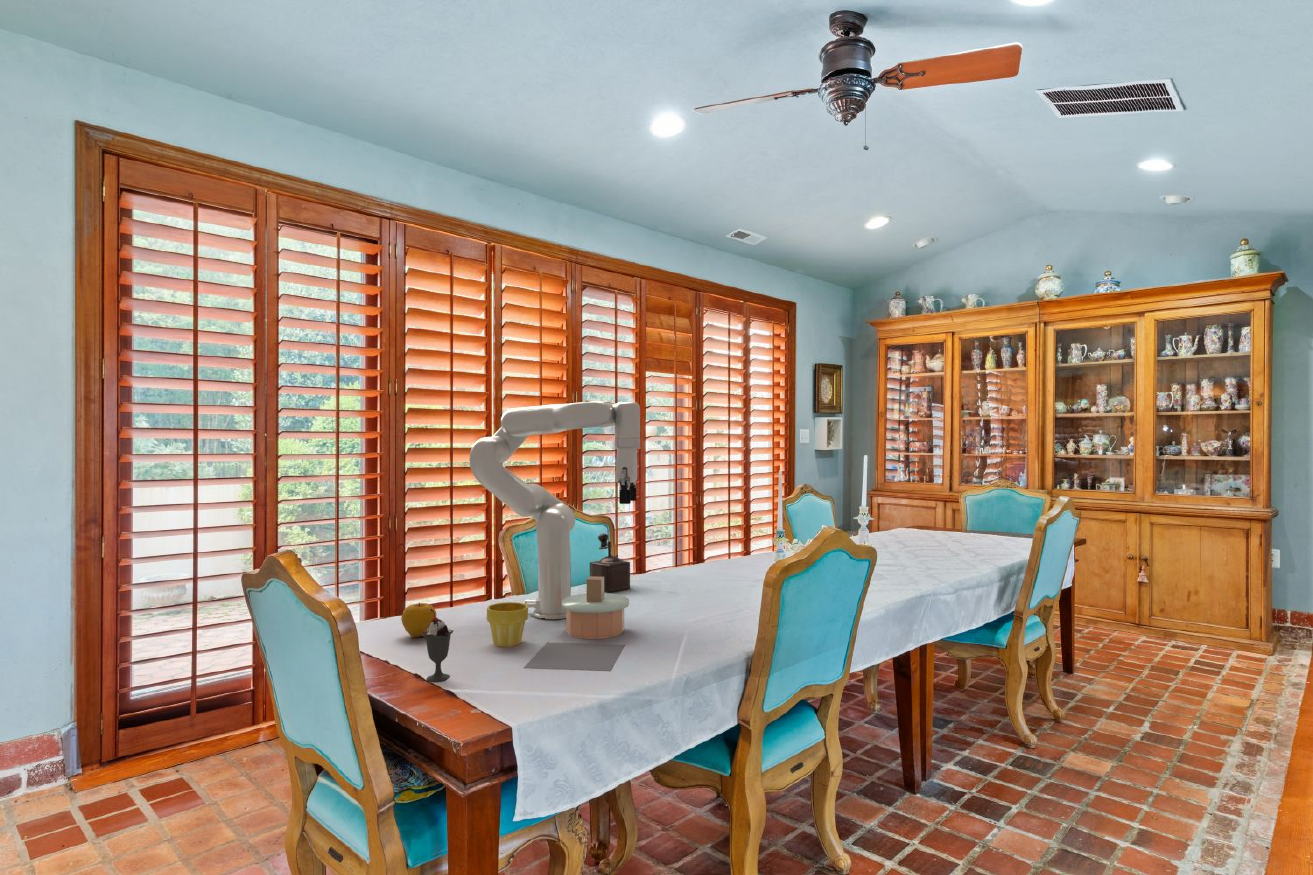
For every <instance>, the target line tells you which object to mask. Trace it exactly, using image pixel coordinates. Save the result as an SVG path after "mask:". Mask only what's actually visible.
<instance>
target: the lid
mask: <svg viewBox="0 0 1313 875" xmlns="http://www.w3.org/2000/svg"><path fill="white" fill-rule="evenodd" d="M585 581H586V593H580V594H575V595H571V596H569V597H566V598H564V599H563V600H562V608H564V609H565V610H568V611H572V612H579V613H605V612H613V611H618V610H622V609H624V610H625V609H626V608H628V607H629V606H630V598H629V597H627V596H625V595H622V594H617V593H612V592H611V593H606V592H604V577H593V576H590V575H589V576H588V578H586V580H585Z"/></svg>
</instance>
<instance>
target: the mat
mask: <svg viewBox="0 0 1313 875" xmlns="http://www.w3.org/2000/svg"><path fill="white" fill-rule="evenodd" d="M625 646H626V645H625V644H616V643H615V644H614V643H584V642H583V643H582V642H579V643H578V642H550V641H547V642H546V643H544V645H543V646H542V647H541V648H540V649H539V650H538V651H537V653H536V654H535V655H534V656H533V657H532V658H530V660H529V661H528V662H527V663H526V665H524V666H523V669H537V670H538V669H540V670H541V669H542V670H561V671H563V670H565V671H566V670H567V671H568V670H569V671H592V672H593V671H594V672H595V671H598V672H612V669H613V668H614V666H615V664H616V663H617V661H618V659H619V657H620V655H621V653H622V651H623V650H624V648H625Z"/></svg>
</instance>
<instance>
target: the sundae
mask: <svg viewBox="0 0 1313 875" xmlns="http://www.w3.org/2000/svg"><path fill="white" fill-rule="evenodd" d="M430 610H431V611H432V612H433V613H434V611H433V609H430ZM431 621H432V622H431V624H430V625H429V626H428V629H427V631H424V632H422V635H423V636H422V637H424V638H425V642H426V649H427V654H428V658H429V660H431V661H432V662H433V663H434V665H435V669H434V670H435V671H434V673H433V674H431V675H428V676H427V677H426V681H428V682H430V683H431V682H432V683H440V682H445V681H447V680H449V678H451V676H450V674H448V673H444V672H443V671H442V663H443V661H445V659H446V658H447V657H448V654H449V650H450V642H451V635H452V634H453V633H454V630H453V629H450V628H449V627H448V625H447V624H446V622H445V621H443V620H442V619H440V618H438V617H437V616H436V617H435V613H434V618H433V619H432V620H431Z"/></svg>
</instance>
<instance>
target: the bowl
mask: <svg viewBox="0 0 1313 875" xmlns="http://www.w3.org/2000/svg"><path fill="white" fill-rule="evenodd" d="M565 619H566V623H565V624H566V627H565V628H566V632H567V634H568V635H569V636H571V637H573V638H578V639H585V640H586V639H587V640H595V639H596V640H598V639H606V638H612V637H613V638H614V637H616V636H619V635H621V634H622V633H624V629H625V608H624V609H622V610H618V611H613V612H605V613H579V612H572V611H568V610H566V618H565Z"/></svg>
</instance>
